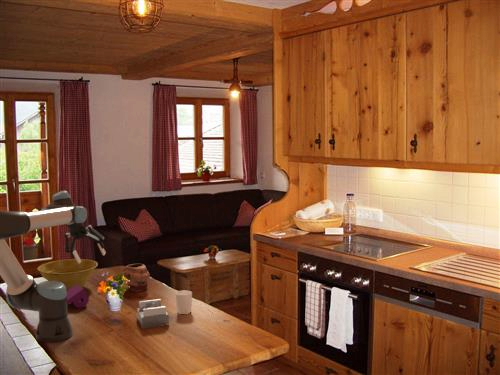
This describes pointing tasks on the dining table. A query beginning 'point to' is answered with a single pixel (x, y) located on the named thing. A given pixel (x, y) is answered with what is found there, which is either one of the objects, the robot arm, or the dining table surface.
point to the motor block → (152, 314)
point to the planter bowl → (68, 271)
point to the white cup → (184, 301)
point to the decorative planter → (136, 276)
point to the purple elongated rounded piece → (77, 296)
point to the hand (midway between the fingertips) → (92, 258)
